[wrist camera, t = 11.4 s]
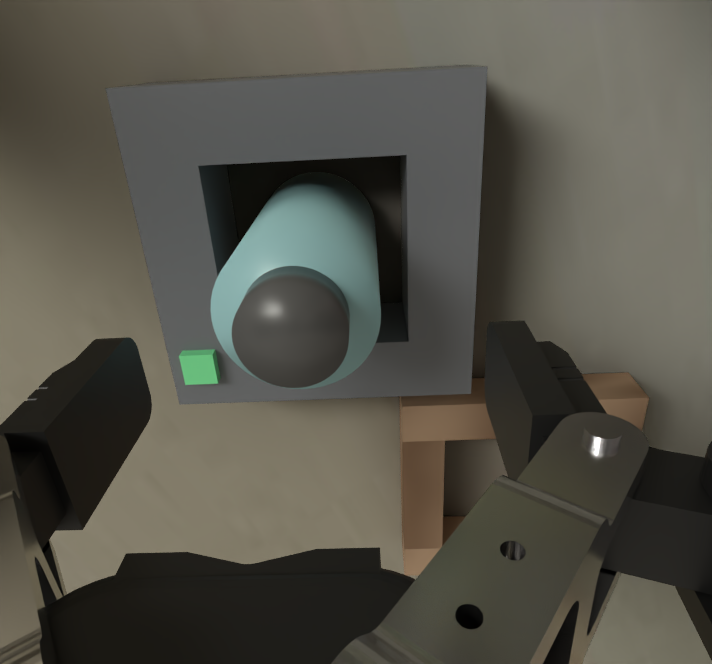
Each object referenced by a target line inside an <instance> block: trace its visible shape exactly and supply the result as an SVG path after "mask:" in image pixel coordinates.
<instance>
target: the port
mask: <svg viewBox="0 0 712 664" xmlns="http://www.w3.org/2000/svg"><path fill="white" fill-rule="evenodd" d="M486 84H487V66H475V65H455V66H438V67H420V68H403V69H385V70H368V71H350V72H332V73H315V74H297V75H280V76H262V77H245V78H227V79H210V80H192V81H175V82H157V83H144V84H136V85H128V86H120V87H111V88H106V93H107V97H108V101H109V105H110V110H111V114H112V118H113V122H114V127H115V131H116V135H117V140H118V144H119V148H120V152H121V157H122V161H123V165H124V169H125V174H126V178H127V182H128V186H129V191H130V195H131V199H132V203H133V208H134V212H135V216H136V220H137V225H138V229H139V233H140V238H141V242H142V246H143V250H144V255H145V259H146V263H147V267H148V272H149V276H150V280H151V284H152V289H153V293H154V297H155V301H156V306H157V310H158V314H159V318H160V323H161V327H162V331H163V335H164V340H165V344H166V348H167V353H168V357H169V361H170V365H171V370H172V374H173V378H174V382H175V387H176V391H177V395H178V399H179V404H204V403H232V402H259V401H287V400H315V399H342V398H370V397H397V396H425V395H453V394H471V383H472V363H473V343H474V323H475V303H476V283H477V264H478V244H479V224H480V204H481V184H482V164H483V144H484V124H485V104H486ZM397 155H400V172H401V239H402V302H397V303H380V306H381V324H380V330H379V334H378V337H377V340H376V343H375V345H374V347H373V349H372V351H371V353H370V354H369V355H368V357H367V358H366V360H365V361H364V362H363V363H362V364H361V365H360V366H359V367H358V368H357V369H356V370H355V371H353V372H352V373H351V374H349V375H348V376H346V377H345V378H343V379H341V380H339V381H337V382H335V383H332V384H329V385H326V386H322V387H318V388H311V389H290V388H283V387H279V386H274V385H271V384H268V383H266V382H263V381H261V380H259V379H257V378H255V377H253V376H251V375H250V374H248V373H247V372H245V371H244V370H243V369H241V368H240V367H239V366H238V365H237V364H236V363H235V362H234V361H233V360H232V359H231V358H230V357H229V356H228V354H227V353H226V352H225V351H224V349H223V348H222V346H221V344H220V342H219V341H218V338H217V336H216V334H215V331H214V328H213V324H212V319H211V296H212V291H213V288H214V285H215V282H216V279H217V277H218V275H219V273H220V272H221V270H222V268H223V267H224V265H225V264H226V263H227V261H228V260H229V258H230V257H231V255H232V254H233V252H234V251H235V249H236V248H237V246H238V245H239V243H238V236H237V230H236V223H235V216H234V210H233V203H232V197H231V190H230V184H229V177H228V171H227V164H242V163H261V162H281V161H300V160H319V159H339V158H358V157H378V156H397Z"/></svg>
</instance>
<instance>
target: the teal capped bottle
mask: <svg viewBox="0 0 712 664" xmlns="http://www.w3.org/2000/svg"><path fill="white" fill-rule="evenodd" d="M211 319H212V324H213V328H214V331H215V334H216V336H217V338H218V341H219V342H220V344H221V346H222V348H223V349H224V351H225V352H226V353H227V354H228V356H229V357H230V358H231V359H232V360H233V361H234V362H235V363H236V364H237V365H238V366H239V367H240V368H241V369H243V370H244V371H245V372H247V373H248V374H250V375H251V376H253V377H255V378H257V379H259V380H261V381H263V382H266V383H268V384H271V385H274V386H279V387H283V388H290V389H311V388H318V387H322V386H326V385H329V384H332V383H335V382H337V381H339V380H341V379H343V378H345V377H346V376H348V375H349V374H351V373H352V372H353V371H355V370H356V369H357V368H358V367H359V366H360V365H361V364H362V363H363V362H364V361H365V360H366V358H367V357H368V355H369V354H370V353H371V351H372V349H373V347H374V345H375V343H376V340H377V337H378V334H379V330H380V324H381V306H380V291H379V275H378V260H377V244H376V229H375V219H374V215H373V212H372V209H371V207H370V205H369V203H368V201H367V199H366V198H365V196H364V195H363V194H362V192H361V191H360V190H359V189H358V188H357V187H356V186H354V185H353V184H352V183H351V182H349V181H347V180H346V179H344V178H342V177H339V176H337V175H334V174H330V173H324V172H309V173H304V174H300V175H297V176H295V177H292V178H290V179H289V180H287V181H285V182H284V183H283V184H282V185H280V186H279V187H278V188H277V189H276V190H275V191H274V193H273V194H272V196H271V197H270V198H269V200H268V201H267V203H266V204H265V206H264V207H263V209H262V210H261V212H260V213H259V215H258V216H257V218H256V219H255V221H254V222H253V224H252V225H251V227H250V228H249V230H248V231H247V233H246V234H245V236H244V237H243V239H242V240H241V242H240V243H239V245H238V246H237V248H236V249H235V251H234V252H233V254H232V255H231V257H230V258H229V260H228V261H227V263H226V264H225V265H224V267H223V268H222V270H221V272H220V273H219V275H218V277H217V279H216V282H215V285H214V288H213V291H212V296H211Z"/></svg>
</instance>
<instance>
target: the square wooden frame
mask: <svg viewBox="0 0 712 664" xmlns="http://www.w3.org/2000/svg"><path fill="white" fill-rule="evenodd" d="M582 376H583V379H584V380H586V382H587V384H588V385H589V387H590V388H591V390H592V391H593V393H594V394H595V396H596V397H597V399H598V400H599V402H600V404H601V405H602V407H603V408H604V410H605V411H606V413H607V414H609V415H613V416H616V417H619V418H622V419H624V420H626V421H628V422H630V423H632V424H633V425H635V426H636V427H637V428H639V429H640V430H641V431H642V428H643V424H644V419H645V415H646V411H647V406H648V402H649V397H648V396H647V395H646V393H645V392H644V391H643V390H642V389H641V387H640V386H639V385H638V384H637V383H636V381H635V380H634V379H633V378H632V377H631V375H630V374H629V373H601V374H582ZM399 401H400V452H401V504H402V546H403V559H404V572H405V575H420V574H421V572H422V571H423V570H424V568H425V567H426V566H427V565H428V563H429V562H430V561H431V560H432V558H433V557H434V556H435V555H436V553H437V552H438V551H439V550H440V548H441V547H442V546H443V545H444V543H445V542H446V541H447V540H448V538H449V537H450V536H451V535H452V533H453V532H454V531H455V530H456V528H457V527H458V526H459V525H460V523H461V522H462V521H463V520H464V518H465V517H466V516H452V517H443V496H444V458H445V440H474V439H496V437H495V433H494V430H493V427H492V424H491V421H490V418H489V415H488V411H487V407H486V401H485V378H472V383H471V394H453V395H425V396H399Z"/></svg>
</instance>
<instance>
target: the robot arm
mask: <svg viewBox="0 0 712 664" xmlns="http://www.w3.org/2000/svg"><path fill="white" fill-rule="evenodd" d="M485 401H486V407H487V411H488V415H489V418H490V421H491V424H492V427H493V430H494V433H495V437H496V440H497V443H498V446H499V449H500V452H501V455H502V458H503V462H504V465H505V468H506V471H507V474H508V477H507V476H504V475H502V476H500V477H498V478H497V479H496V480H495V481H494V482H493V483H492V484H491V486H490V487H489V488H488V489H487V491H486V492H485V493H484V494H483V496H482V497H481V498H480V499H479V501H478V502H477V503H476V504H475V506H474V507H473V508H472V509H471V511H470V512H469V513H468V514H467V516H466V517H465V518H464V520H463V521H462V522H461V523H460V525H459V526H458V527H457V528H456V530H455V531H454V532H453V533H452V535H451V536H450V537H449V538H448V540H447V541H446V542H445V543H444V545H443V546H442V547H441V548H440V550H439V551H438V552H437V553H436V555H435V556H434V557H433V558H432V560H431V561H430V562H429V563H428V565H427V566H426V567H425V568H424V570H423V571H422V572H421V574H420V575H419V576H418V577H417V579H416V580H415V579H413V578H411V577H409V576H406V575H403V574H400V573H397V572H394V571H391V570H386V569H382V568H381V560H380V548H344V549H315V550H311V551H306V552H302V553H298V554H293V555H289V556H285V557H281V558H276V559H272V560H268V561H264V562H259V563H255V564H240V563H235V562H231V561H226V560H221V559H217V558H212V557H207V556H203V555H198V554H193V553H189V552H173V553H130V554H126V555H125V557H124V559H123V561H122V563H121V565H120V567H119V569H118V571H117V573H116V575H114V576H110V577H107V578H104V579H101V580H98V581H95V582H92V583H90V584H88V585H85V586H83V587H81V588H78V589H76V590H74V591H72V592H71V593H69V594H67V592H66V589H65V585H64V582H63V578H62V574H61V571H60V567H59V563H58V560H57V556H56V553H55V550H54V547H53V545H52V543H51V541H50V537H51V536H52V534H53V533H54V531H55V530H83V528H84V527H85V525H86V523H87V522H88V520H89V518H90V517H91V515H92V514H93V512H94V510H95V509H96V507H97V505H98V504H99V502H100V500H101V499H102V497H103V496H104V494H105V492H106V491H107V489H108V487H109V486H110V484H111V482H112V481H113V479H114V477H115V476H116V474H117V473H118V471H119V469H120V468H121V466H122V464H123V463H124V461H125V459H126V458H127V456H128V455H129V453H130V451H131V450H132V448H133V446H134V445H135V443H136V441H137V440H138V438H139V436H140V435H141V433H142V432H143V430H144V428H145V427H146V425H147V423H148V421H149V419H150V415H151V408H152V403H151V395H150V391H149V388H148V384H147V381H146V377H145V373H144V370H143V366H142V362H141V359H140V355H139V352H138V348H137V346H136V343H135V342H134V340H133V339H131V338H108V339H96V340H94V341H93V342H92V343H91V344H90V345H89V346H88V347H87V348H86V349H85V350H84V351H83V352H82V353H81V354H80V355H79V356H78V357H77V358H76V359H75V360H74V361H72V362H71V363H69V364H67V365H66V366H64V367H62V368H60V369H59V370H57V371H55V372H54V373H52V374H51V375H50V376H49V377H48V378H47V379H46V380H45V381H44V382H43V383H42V384H41V385H40V386H39V390H35V391H34V392H33V393H32V394H31V395H30V396H29V397H28V401H24V402H23V403H22V404H21V405H20V406H19V407H18V408H17V409H16V410H15V411H14V412H13V413H12V414H11V415H10V416H9V417H8V418H7V419H6V420H5V421H4V422H3V423H2V424H1V425H0V664H583V661H584V658H585V655H586V653H587V650H588V648H589V646H590V643H591V641H592V639H593V636H594V634H595V632H596V630H597V627H598V625H599V623H600V620H601V618H602V616H603V613H604V611H605V609H606V607H607V604H608V602H609V600H610V597H611V595H612V593H613V591H614V588H615V586H616V584H617V581H618V579H619V577H620V574H621V573H624V574H628V575H633V576H637V577H641V578H645V579H649V580H653V581H657V582H661V583H665V584H669V585H673V586H675V587H676V589H677V591H678V593H679V595H680V597H681V599H682V601H683V603H684V605H685V607H686V610H687V612H688V614H689V616H690V618H691V620H692V622H693V624H694V626H695V628H696V630H697V632H698V634H699V636H700V638H701V640H702V642H703V644H704V646H705V648H706V650H707V652H708V654H709V656H710V658H711V660H712V442H711V443H710V444H709V446H708V449H707V452H706V456H705V458H704V457H698V456H692V455H686V454H680V453H674V452H669V451H664V450H659V449H656V448H652V447H649V443H648V440H647V438H646V436H645V435H644V433H643V432H642V431H641V430H640V429H639V428H637V427H636V426H635V425H633V424H632V423H630V422H628V421H626V420H624V419H622V418H619V417H616V416H613V415H609V414H607V413H606V411H605V410H604V408H603V407H602V405H601V404H600V402H599V400H598V399H597V397H596V396H595V394H594V393H593V391H592V390H591V388H590V387H589V385H588V384H587V382H586V380H584V379H583V376H582V374H581V373H580V371H579V370H578V369H576V365H575V364H574V362H573V361H572V359H571V357H570V356H569V354H568V353H567V352H566V351H564V350H563V349H561V348H559V347H558V346H556V345H555V344H553V343H552V342H550V341H545V342H536V340H535V338H534V337H533V335H532V333H531V331H530V330H529V328H528V326H527V324H526V323H525V321H503V322H490V323H489V324H488V328H487V343H486V363H485Z"/></svg>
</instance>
